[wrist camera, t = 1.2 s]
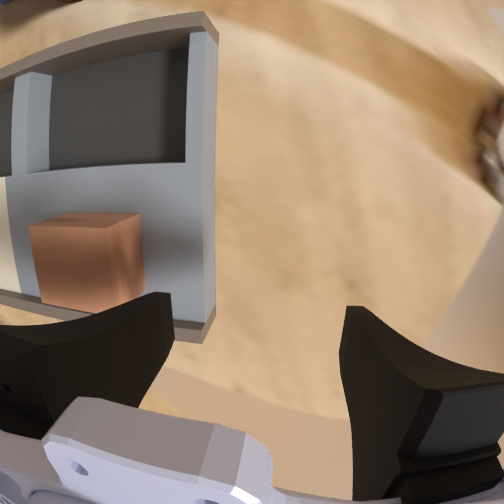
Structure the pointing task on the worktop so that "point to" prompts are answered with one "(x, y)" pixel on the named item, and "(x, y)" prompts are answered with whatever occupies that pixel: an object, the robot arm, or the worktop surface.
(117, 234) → the block
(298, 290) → the worktop surface
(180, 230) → the box
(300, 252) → the worktop surface
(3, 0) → the water bottle
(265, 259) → the worktop surface
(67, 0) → the food container
